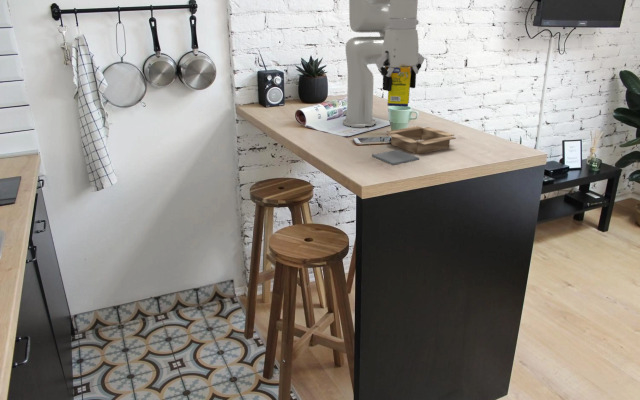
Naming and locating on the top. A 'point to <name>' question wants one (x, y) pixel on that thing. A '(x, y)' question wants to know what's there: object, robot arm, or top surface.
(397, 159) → the coaster
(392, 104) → the supplement box
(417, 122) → the top surface
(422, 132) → the carton
